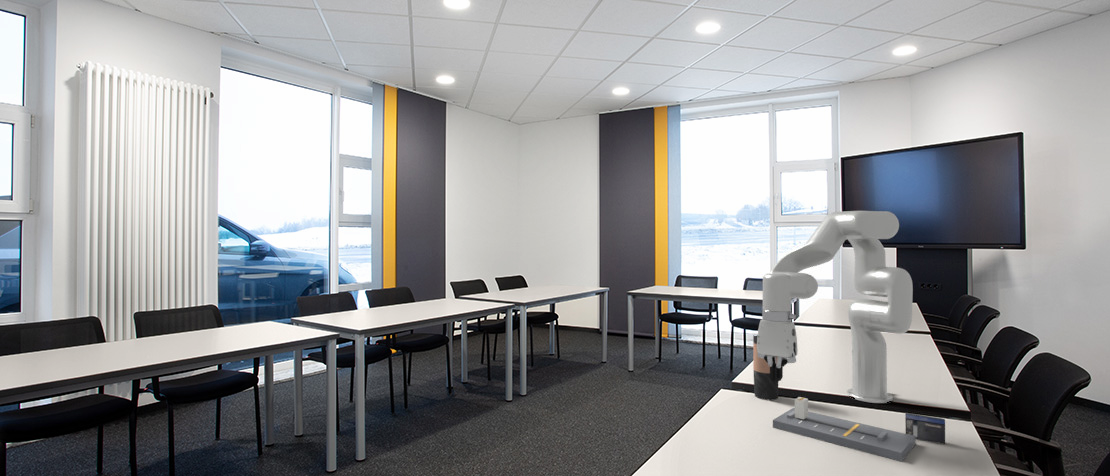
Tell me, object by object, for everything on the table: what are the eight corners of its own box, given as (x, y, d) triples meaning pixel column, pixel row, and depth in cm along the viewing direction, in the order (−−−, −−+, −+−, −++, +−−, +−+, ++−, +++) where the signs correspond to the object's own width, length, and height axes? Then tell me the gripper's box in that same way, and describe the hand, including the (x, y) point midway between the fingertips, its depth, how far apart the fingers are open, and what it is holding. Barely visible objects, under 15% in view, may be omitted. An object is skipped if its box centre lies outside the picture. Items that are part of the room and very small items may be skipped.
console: (793, 414, 150) (793, 405, 150) (915, 444, 128) (915, 432, 128) (772, 427, 140) (772, 417, 140) (901, 461, 118) (901, 449, 118)
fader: (799, 414, 143) (798, 396, 143) (808, 416, 141) (807, 398, 141) (794, 417, 141) (794, 398, 141) (803, 419, 139) (803, 400, 139)
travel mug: (781, 400, 162) (780, 338, 162) (756, 399, 164) (755, 337, 164) (775, 393, 170) (775, 333, 170) (751, 392, 171) (751, 333, 171)
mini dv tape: (905, 437, 132) (905, 414, 132) (905, 435, 133) (905, 412, 133) (945, 444, 128) (945, 420, 128) (944, 442, 129) (944, 418, 129)
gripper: (808, 318, 143) (808, 383, 143) (757, 312, 154) (756, 373, 154) (798, 321, 138) (797, 388, 138) (745, 314, 149) (745, 377, 148)
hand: (776, 380), depth 146 cm, fingers closed
